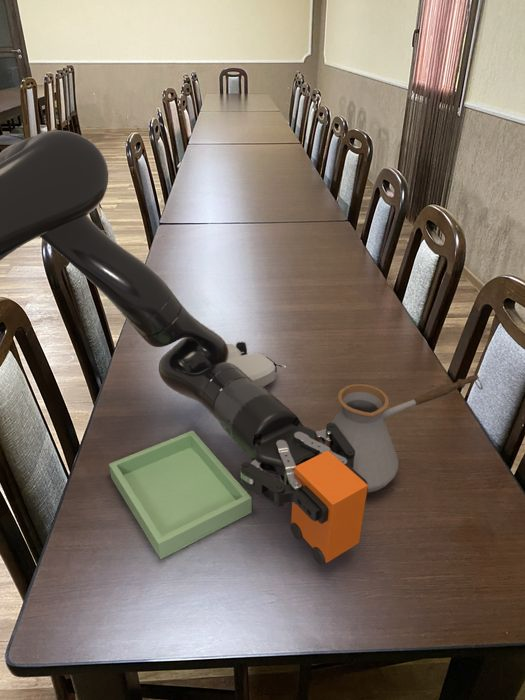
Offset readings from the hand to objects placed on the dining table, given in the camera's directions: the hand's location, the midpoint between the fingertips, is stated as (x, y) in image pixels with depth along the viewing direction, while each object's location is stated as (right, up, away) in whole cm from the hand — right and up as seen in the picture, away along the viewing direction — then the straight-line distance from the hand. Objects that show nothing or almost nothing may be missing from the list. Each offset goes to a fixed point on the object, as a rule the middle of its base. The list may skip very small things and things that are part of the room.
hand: (345, 504), depth 56 cm
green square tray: (-20, -3, +15) cm, 25 cm away
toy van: (-2, -6, +6) cm, 8 cm away
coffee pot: (+9, -1, +19) cm, 21 cm away
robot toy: (-13, +11, +38) cm, 42 cm away
